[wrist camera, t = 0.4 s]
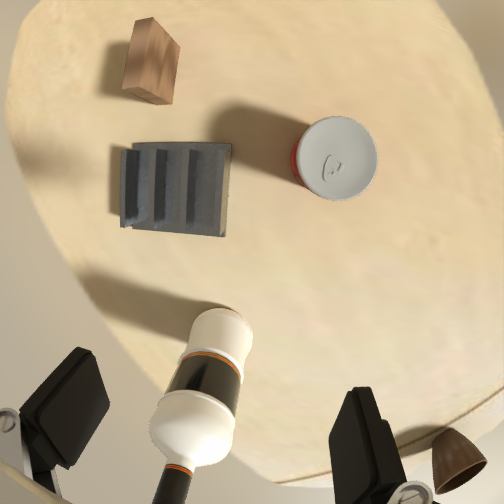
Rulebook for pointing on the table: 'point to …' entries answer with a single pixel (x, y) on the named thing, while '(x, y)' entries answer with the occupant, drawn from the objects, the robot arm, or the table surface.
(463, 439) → the plant pot
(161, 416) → the vodka
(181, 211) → the rack
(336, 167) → the canned food
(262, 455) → the table surface
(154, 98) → the board
